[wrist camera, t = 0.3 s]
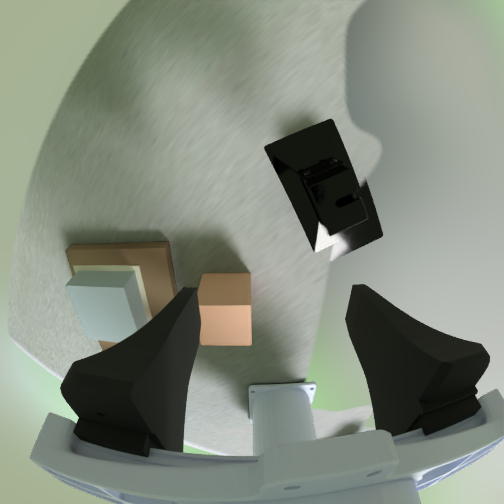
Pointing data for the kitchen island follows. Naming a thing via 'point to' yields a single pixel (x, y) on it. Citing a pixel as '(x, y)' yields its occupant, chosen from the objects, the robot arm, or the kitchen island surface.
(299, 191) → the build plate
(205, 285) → the top block
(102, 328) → the base block
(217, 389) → the kitchen island surface
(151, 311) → the build board
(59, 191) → the kitchen island surface
